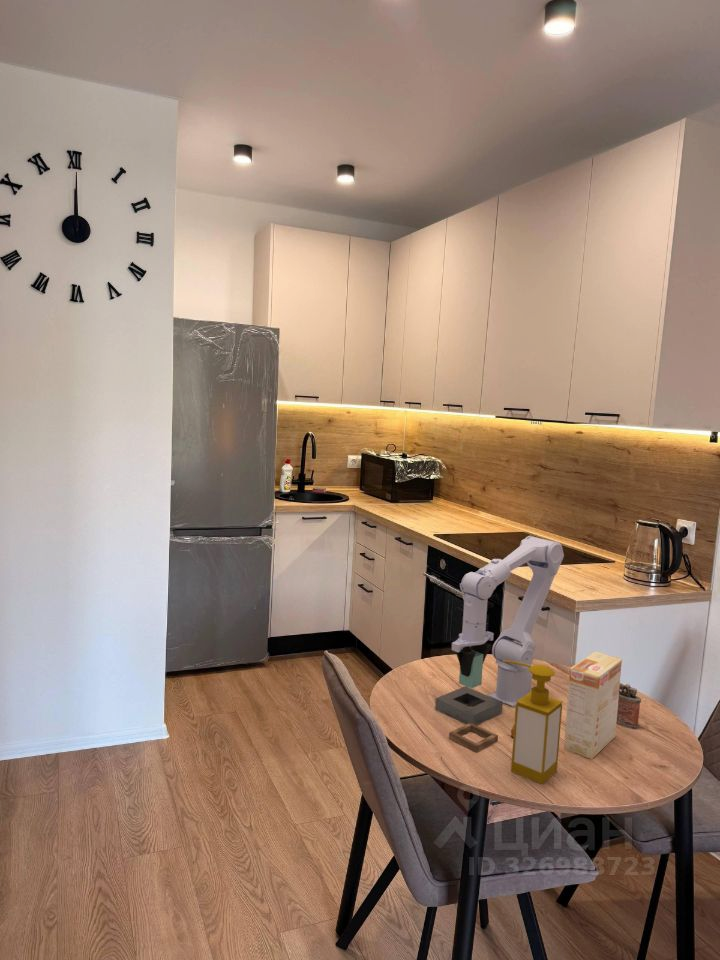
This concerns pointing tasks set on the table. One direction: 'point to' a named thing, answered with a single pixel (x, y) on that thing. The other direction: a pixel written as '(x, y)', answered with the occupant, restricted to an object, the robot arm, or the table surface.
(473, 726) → the stand frame
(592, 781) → the table surface
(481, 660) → the teal peg
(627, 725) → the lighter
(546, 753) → the soap bottle
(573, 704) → the coffeecake box
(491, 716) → the socket block
